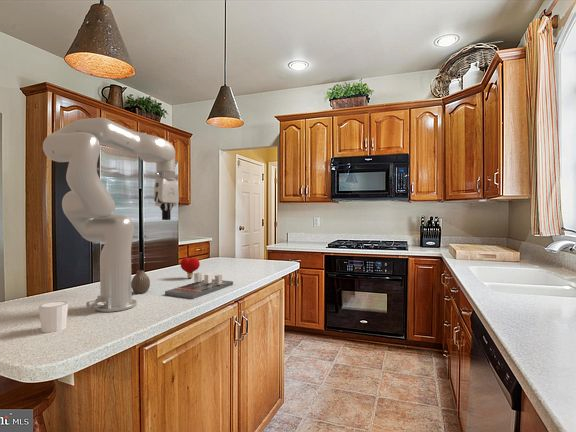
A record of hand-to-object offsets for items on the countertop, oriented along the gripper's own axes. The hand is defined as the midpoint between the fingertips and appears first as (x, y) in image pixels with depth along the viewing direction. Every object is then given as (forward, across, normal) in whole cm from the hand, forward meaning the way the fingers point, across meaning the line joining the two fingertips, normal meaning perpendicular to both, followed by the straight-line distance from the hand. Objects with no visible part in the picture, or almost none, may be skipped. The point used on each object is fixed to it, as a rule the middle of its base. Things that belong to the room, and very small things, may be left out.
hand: (166, 219), depth 142 cm
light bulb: (+29, +20, +5) cm, 36 cm away
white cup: (+29, -50, -8) cm, 59 cm away
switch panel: (+29, +4, -15) cm, 33 cm away
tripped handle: (+27, +9, -15) cm, 32 cm away
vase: (+29, -10, +4) cm, 31 cm away
